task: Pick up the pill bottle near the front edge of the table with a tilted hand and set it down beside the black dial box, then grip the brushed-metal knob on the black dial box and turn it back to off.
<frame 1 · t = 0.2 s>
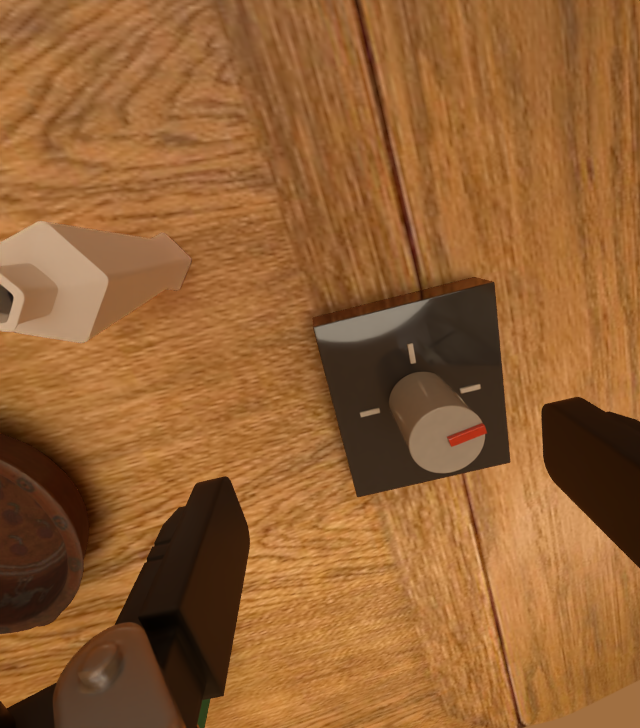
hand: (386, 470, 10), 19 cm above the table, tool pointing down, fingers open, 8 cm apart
perfume bottle: (164, 265, 26), on the table
black dial box: (408, 384, 29), on the table
dish: (6, 501, 32), on the table
stove knob: (432, 419, 24), point 6 cm above the table, hinge at 100.0°
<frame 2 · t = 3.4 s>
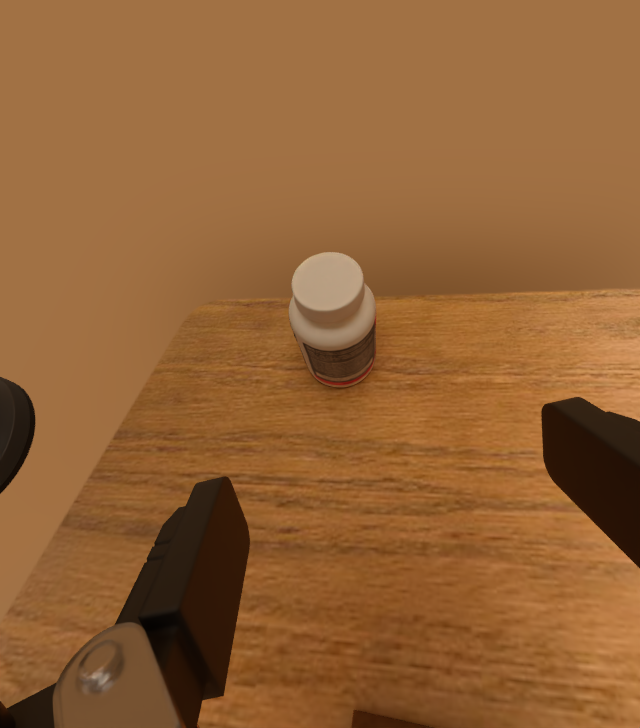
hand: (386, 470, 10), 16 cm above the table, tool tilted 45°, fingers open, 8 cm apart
pill bottle: (340, 357, 29), on the table
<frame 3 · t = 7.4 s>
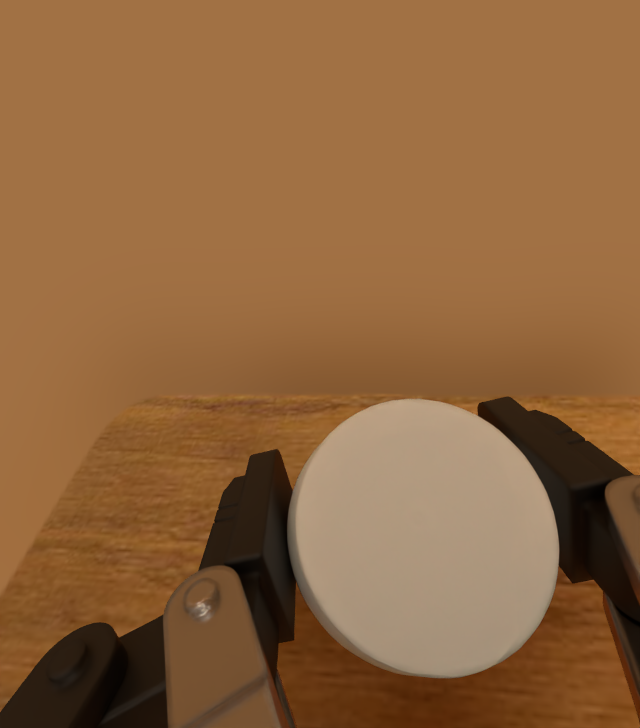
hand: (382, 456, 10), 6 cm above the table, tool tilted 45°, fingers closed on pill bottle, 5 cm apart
pill bottle: (392, 530, 15), on the table, touching gripper
when the fingers open (6 cm above the table, at t = 14.1 s): pill bottle stays where it is, on the table.
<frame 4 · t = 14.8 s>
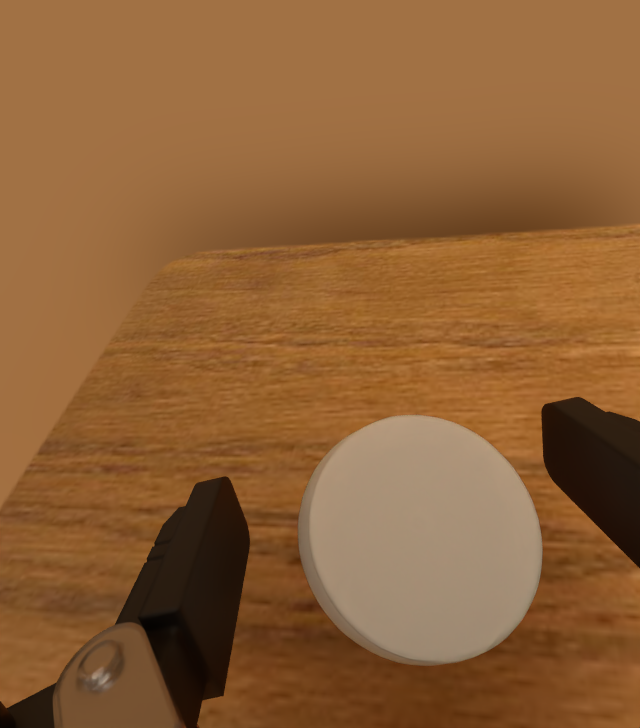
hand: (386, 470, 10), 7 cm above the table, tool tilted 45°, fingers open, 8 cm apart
pill bottle: (395, 531, 15), on the table
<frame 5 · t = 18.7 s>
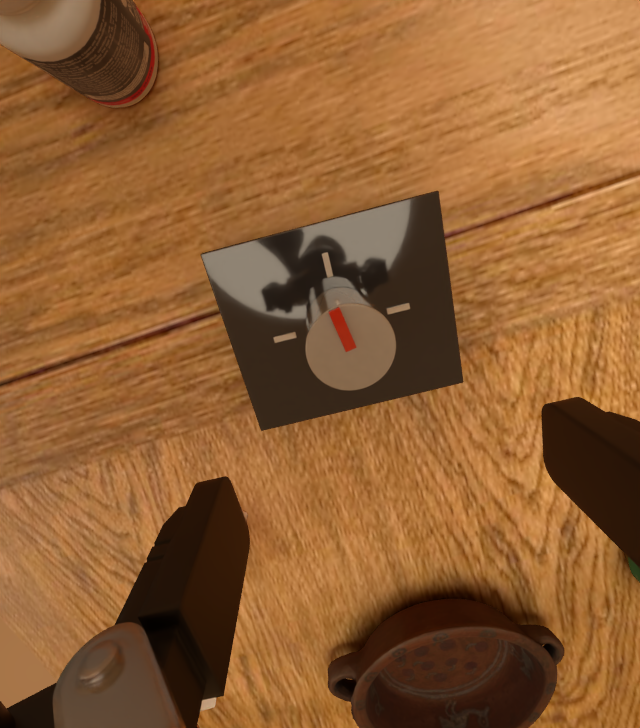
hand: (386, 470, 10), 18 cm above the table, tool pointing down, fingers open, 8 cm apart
pill bottle: (112, 55, 21), on the table
black dial box: (337, 313, 26), on the table
dish: (435, 641, 38), on the table
stove knob: (345, 335, 21), point 6 cm above the table, hinge at 100.0°
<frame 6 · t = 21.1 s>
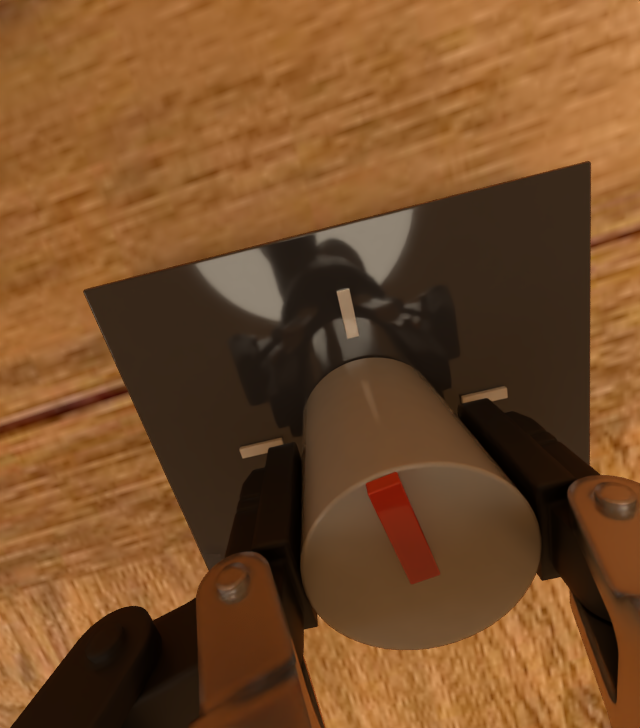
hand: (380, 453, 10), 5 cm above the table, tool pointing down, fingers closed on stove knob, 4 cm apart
black dial box: (358, 385, 15), on the table
stove knob: (391, 478, 9), point 6 cm above the table, hinge at 100.0°, touching gripper
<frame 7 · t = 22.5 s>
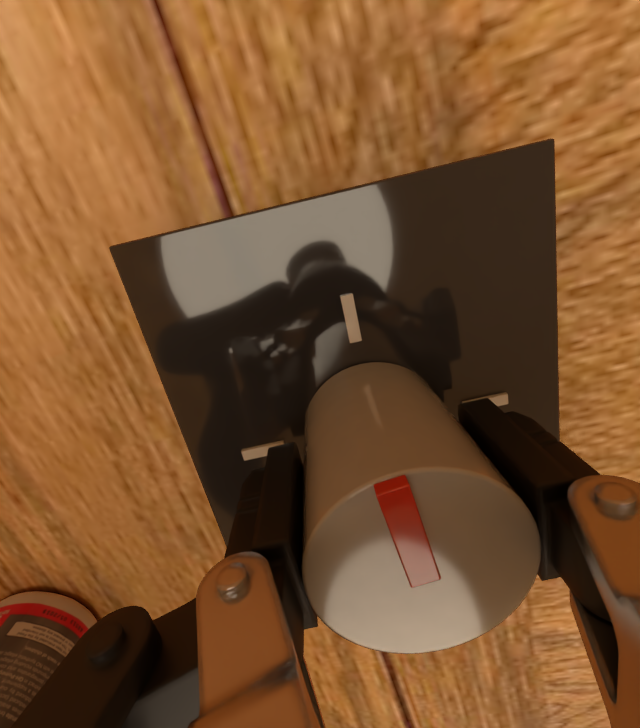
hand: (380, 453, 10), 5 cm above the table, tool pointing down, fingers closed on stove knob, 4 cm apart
pill bottle: (51, 623, 19), on the table
black dial box: (360, 389, 15), on the table
stove knob: (392, 482, 9), point 6 cm above the table, hinge at 7.2°, touching gripper
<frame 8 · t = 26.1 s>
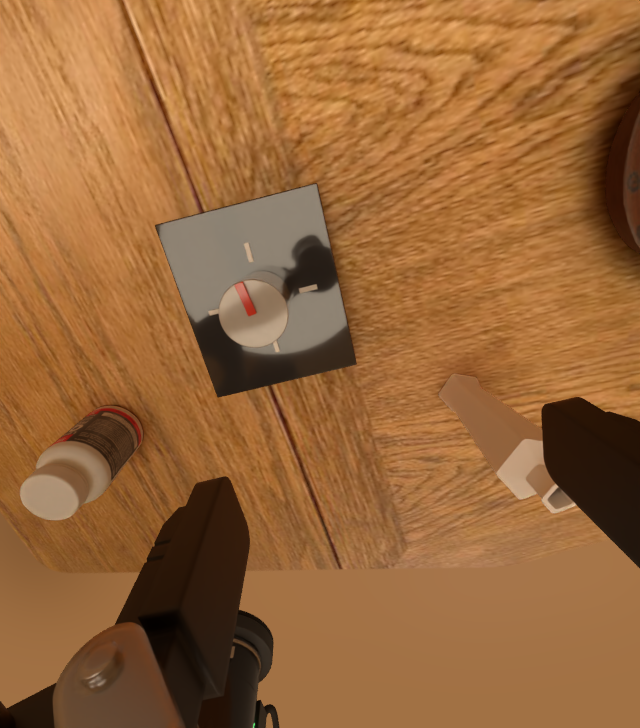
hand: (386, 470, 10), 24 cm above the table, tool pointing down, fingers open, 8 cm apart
pill bottle: (116, 428, 36), on the table
perfume bottle: (458, 389, 36), on the table
black dial box: (266, 293, 32), on the table
stove knob: (258, 307, 26), point 6 cm above the table, hinge at 7.4°
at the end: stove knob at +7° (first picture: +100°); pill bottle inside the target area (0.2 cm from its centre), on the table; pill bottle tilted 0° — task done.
